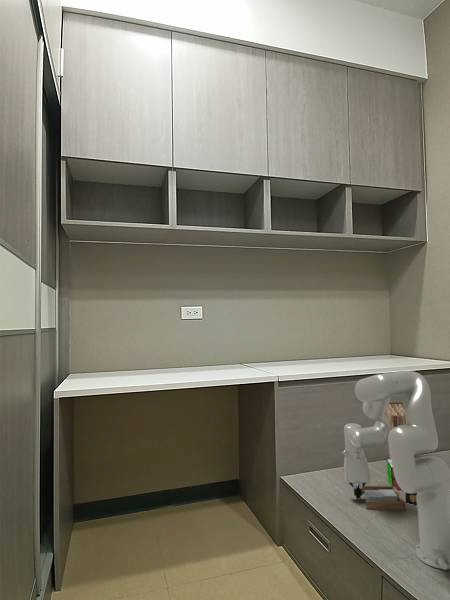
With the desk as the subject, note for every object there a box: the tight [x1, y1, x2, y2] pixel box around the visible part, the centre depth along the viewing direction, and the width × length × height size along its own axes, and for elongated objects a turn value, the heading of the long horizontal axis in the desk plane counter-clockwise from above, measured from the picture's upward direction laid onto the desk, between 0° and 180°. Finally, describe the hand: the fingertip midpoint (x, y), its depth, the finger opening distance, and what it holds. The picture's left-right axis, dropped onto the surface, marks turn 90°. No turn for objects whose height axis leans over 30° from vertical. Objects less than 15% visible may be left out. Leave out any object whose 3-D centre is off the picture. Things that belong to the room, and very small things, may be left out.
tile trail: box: [364, 490, 383, 502], centre depth 159 cm, size 6×6×4 cm
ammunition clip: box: [405, 492, 417, 506], centre depth 154 cm, size 11×2×12 cm, turn 62°
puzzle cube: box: [385, 458, 403, 491], centre depth 172 cm, size 10×10×10 cm
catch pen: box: [362, 485, 407, 511], centre depth 159 cm, size 15×15×3 cm
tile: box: [379, 490, 398, 501], centre depth 159 cm, size 6×6×4 cm
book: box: [385, 402, 418, 459], centre depth 192 cm, size 25×9×30 cm, turn 165°
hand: (358, 497), depth 161 cm, fingers closed
